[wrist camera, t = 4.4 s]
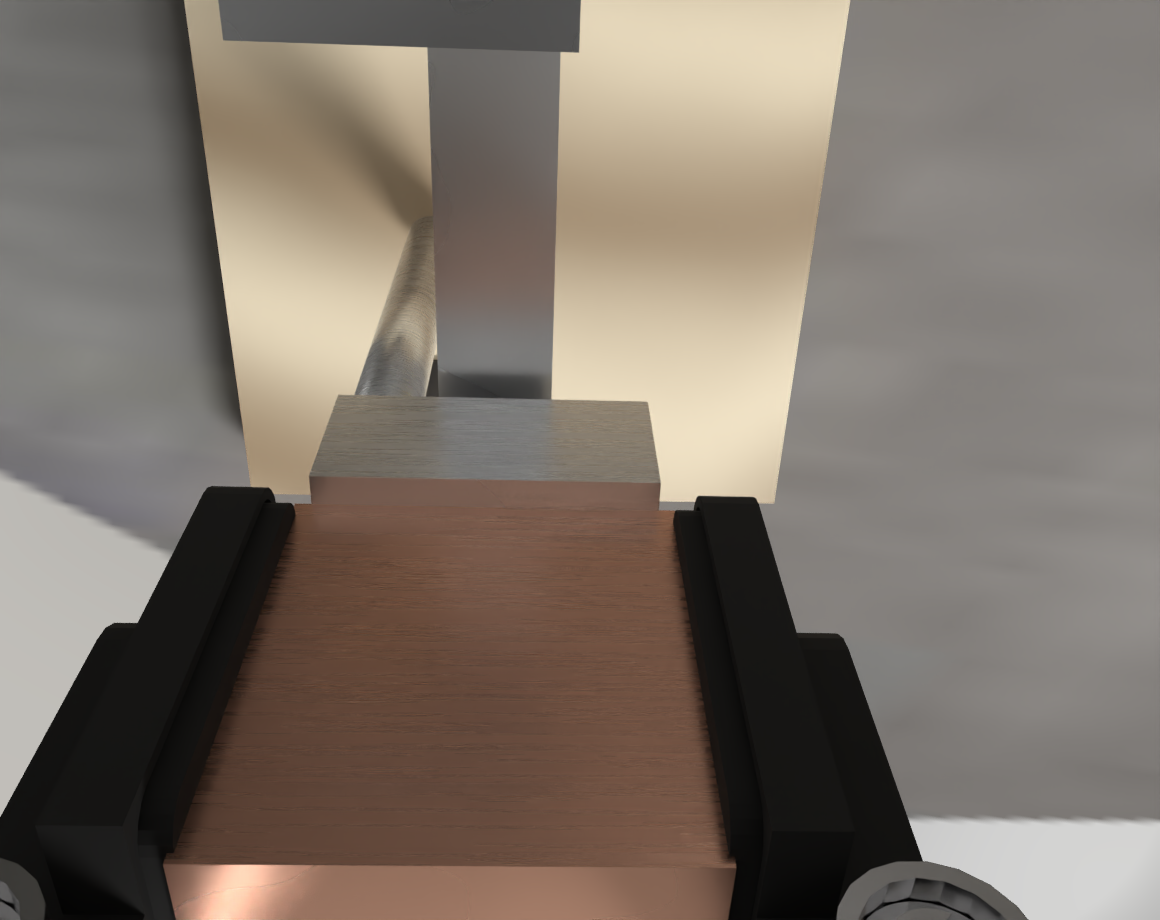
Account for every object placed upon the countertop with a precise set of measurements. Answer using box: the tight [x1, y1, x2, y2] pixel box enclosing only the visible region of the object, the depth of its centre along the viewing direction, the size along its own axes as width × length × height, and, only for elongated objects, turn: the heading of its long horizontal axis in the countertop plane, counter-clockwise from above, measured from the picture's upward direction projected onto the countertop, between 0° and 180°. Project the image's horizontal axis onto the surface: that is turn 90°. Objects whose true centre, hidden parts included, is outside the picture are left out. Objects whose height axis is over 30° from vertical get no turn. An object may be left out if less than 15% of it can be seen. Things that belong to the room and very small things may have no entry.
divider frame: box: [218, 0, 581, 399], centre depth 15 cm, size 13×3×9 cm, turn 178°
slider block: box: [163, 216, 736, 920], centre depth 14 cm, size 3×4×14 cm
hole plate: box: [184, 0, 850, 503], centre depth 20 cm, size 14×11×2 cm
